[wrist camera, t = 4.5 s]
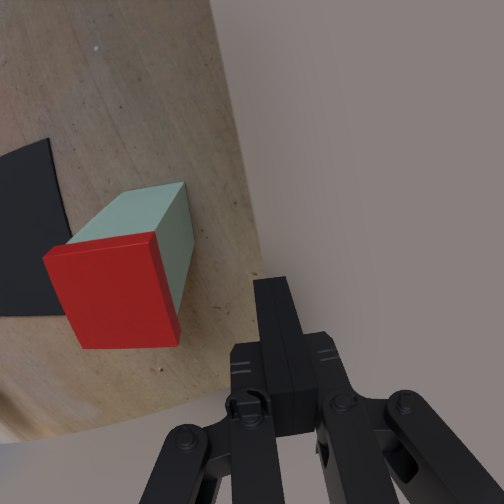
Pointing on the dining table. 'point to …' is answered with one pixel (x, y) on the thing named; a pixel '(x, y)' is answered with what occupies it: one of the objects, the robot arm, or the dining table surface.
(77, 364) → the dining table surface
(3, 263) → the mat
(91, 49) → the dining table surface
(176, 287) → the container
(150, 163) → the dining table surface
